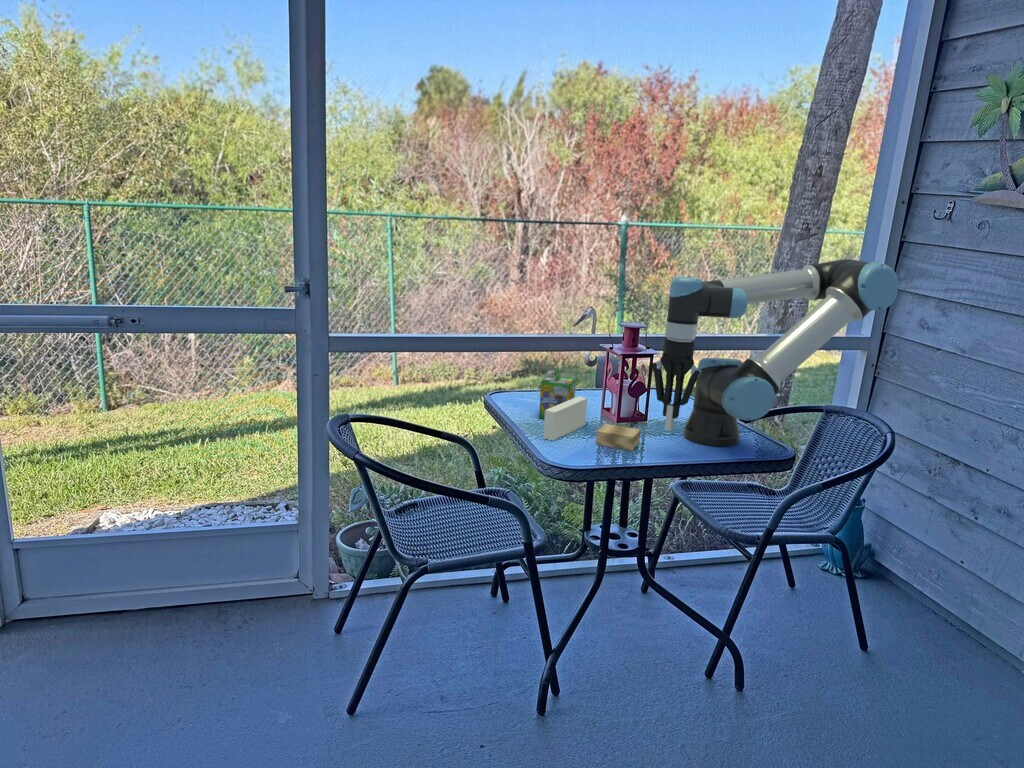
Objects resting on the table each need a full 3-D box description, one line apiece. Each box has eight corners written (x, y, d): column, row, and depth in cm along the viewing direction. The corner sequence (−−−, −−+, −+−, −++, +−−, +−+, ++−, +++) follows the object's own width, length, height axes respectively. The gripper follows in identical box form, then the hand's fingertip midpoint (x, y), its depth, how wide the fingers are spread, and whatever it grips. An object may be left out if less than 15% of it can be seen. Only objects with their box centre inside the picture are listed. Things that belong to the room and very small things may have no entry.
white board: (585, 424, 214) (587, 398, 212) (552, 441, 197) (555, 412, 195) (576, 422, 216) (578, 396, 214) (543, 438, 199) (545, 410, 197)
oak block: (639, 443, 200) (640, 429, 199) (632, 451, 193) (633, 437, 192) (603, 437, 204) (605, 423, 203) (595, 445, 197) (596, 431, 196)
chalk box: (568, 422, 215) (572, 373, 212) (538, 418, 218) (541, 370, 214) (574, 414, 224) (578, 367, 221) (545, 411, 226) (548, 364, 223)
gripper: (709, 341, 185) (697, 431, 190) (660, 333, 191) (650, 421, 196) (700, 344, 178) (688, 437, 184) (649, 337, 185) (639, 427, 190)
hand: (668, 429), depth 190 cm, fingers closed
